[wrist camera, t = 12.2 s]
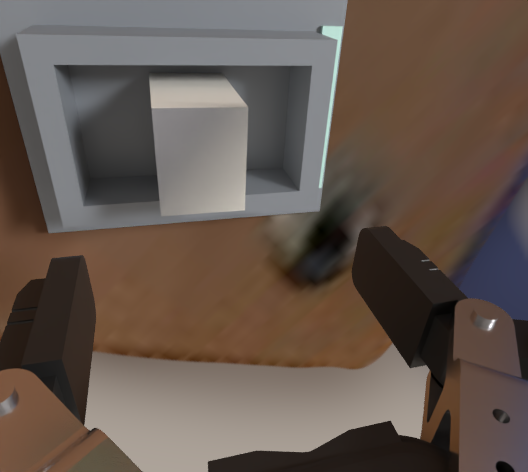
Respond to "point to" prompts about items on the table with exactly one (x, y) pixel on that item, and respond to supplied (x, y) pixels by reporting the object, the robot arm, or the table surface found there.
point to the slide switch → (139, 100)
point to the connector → (199, 143)
